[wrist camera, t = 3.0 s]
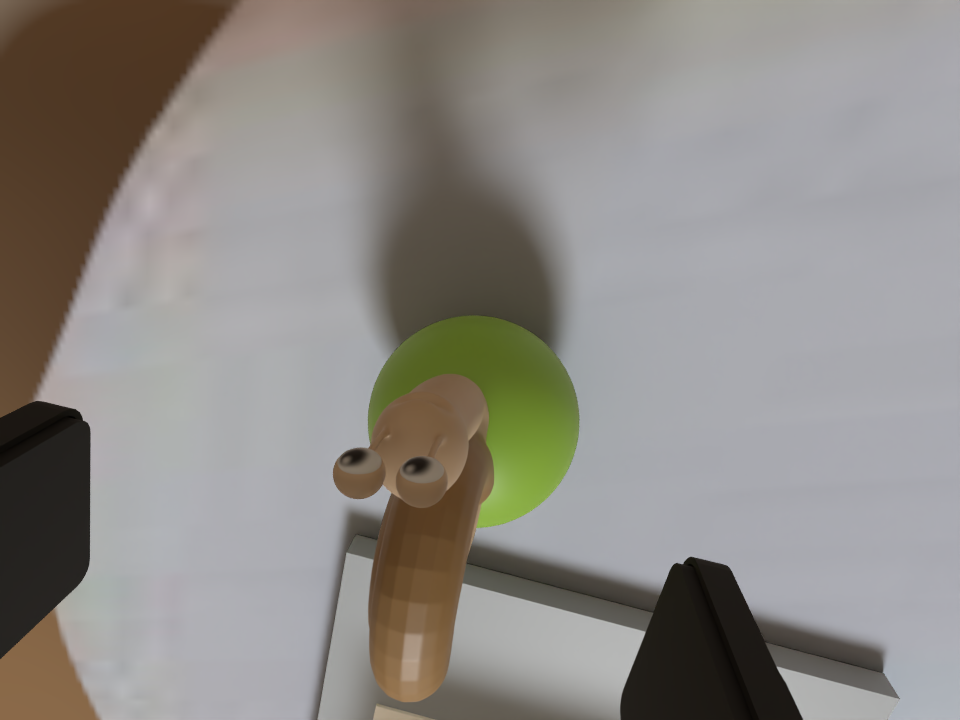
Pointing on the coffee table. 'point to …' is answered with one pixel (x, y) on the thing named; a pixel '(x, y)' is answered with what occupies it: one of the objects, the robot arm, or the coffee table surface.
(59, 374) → the coffee table surface
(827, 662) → the board
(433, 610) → the snail figurine
